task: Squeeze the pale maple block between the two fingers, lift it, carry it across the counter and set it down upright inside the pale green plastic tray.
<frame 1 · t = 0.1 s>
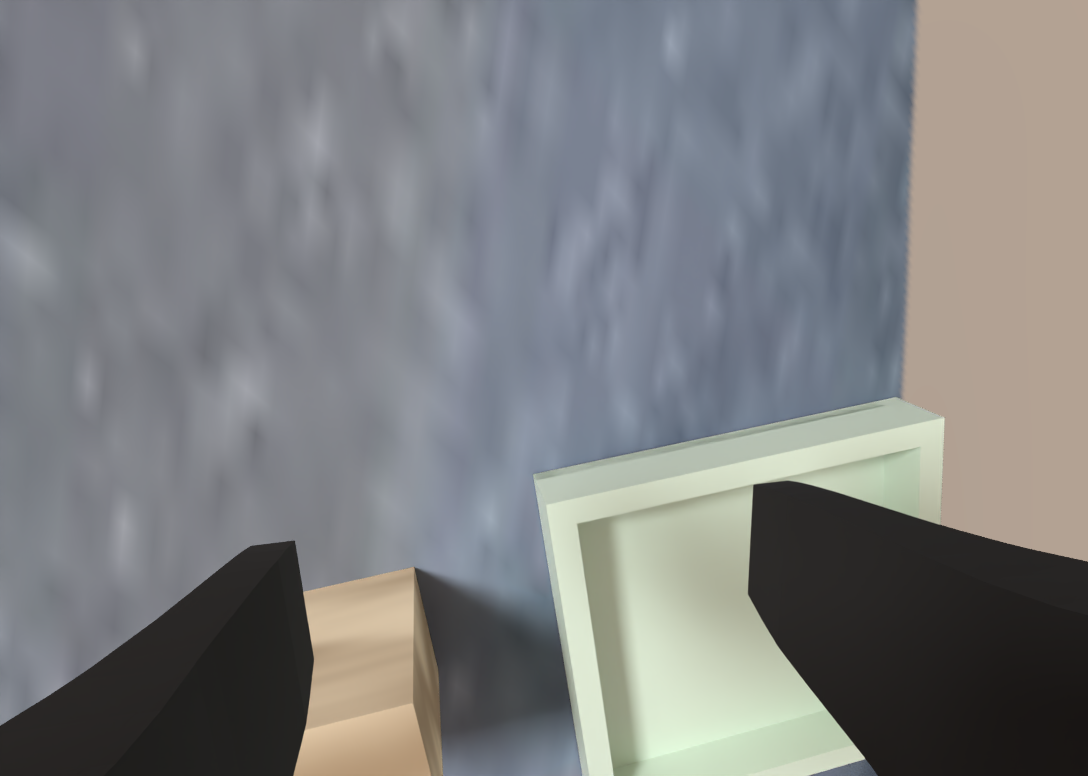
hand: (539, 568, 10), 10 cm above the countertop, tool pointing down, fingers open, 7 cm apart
tray: (732, 598, 24), on the countertop
block: (348, 637, 21), on the countertop
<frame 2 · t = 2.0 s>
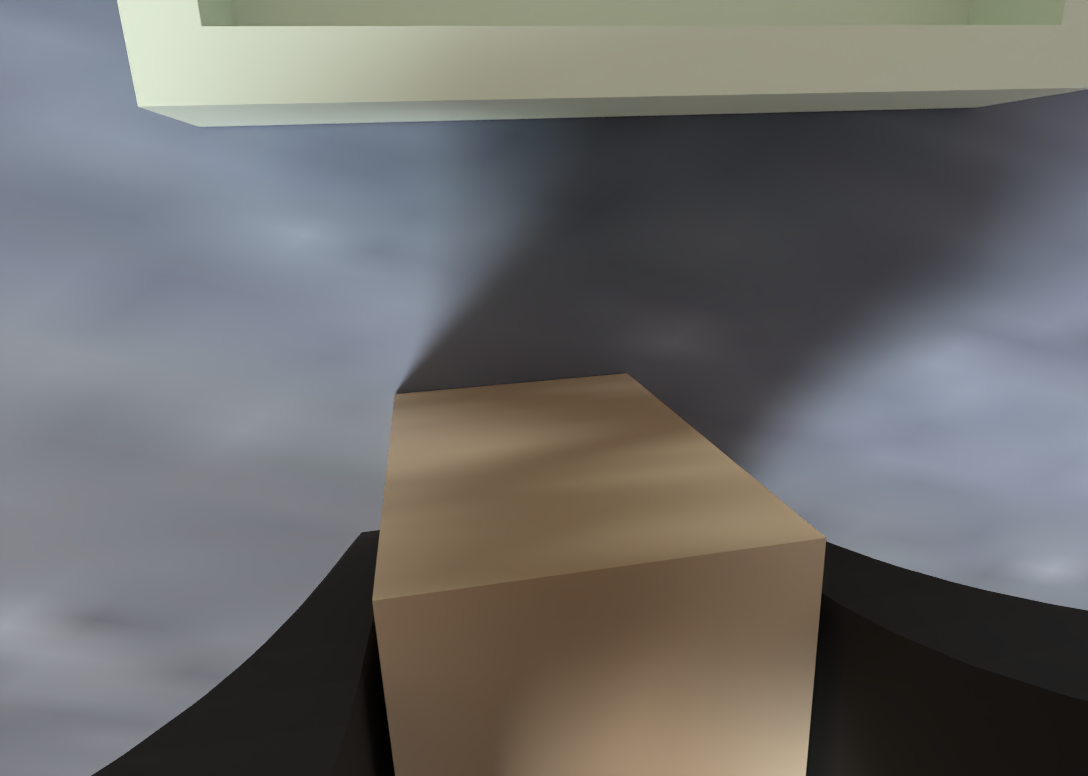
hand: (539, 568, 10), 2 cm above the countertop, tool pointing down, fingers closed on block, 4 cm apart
block: (521, 515, 12), on the countertop, touching gripper
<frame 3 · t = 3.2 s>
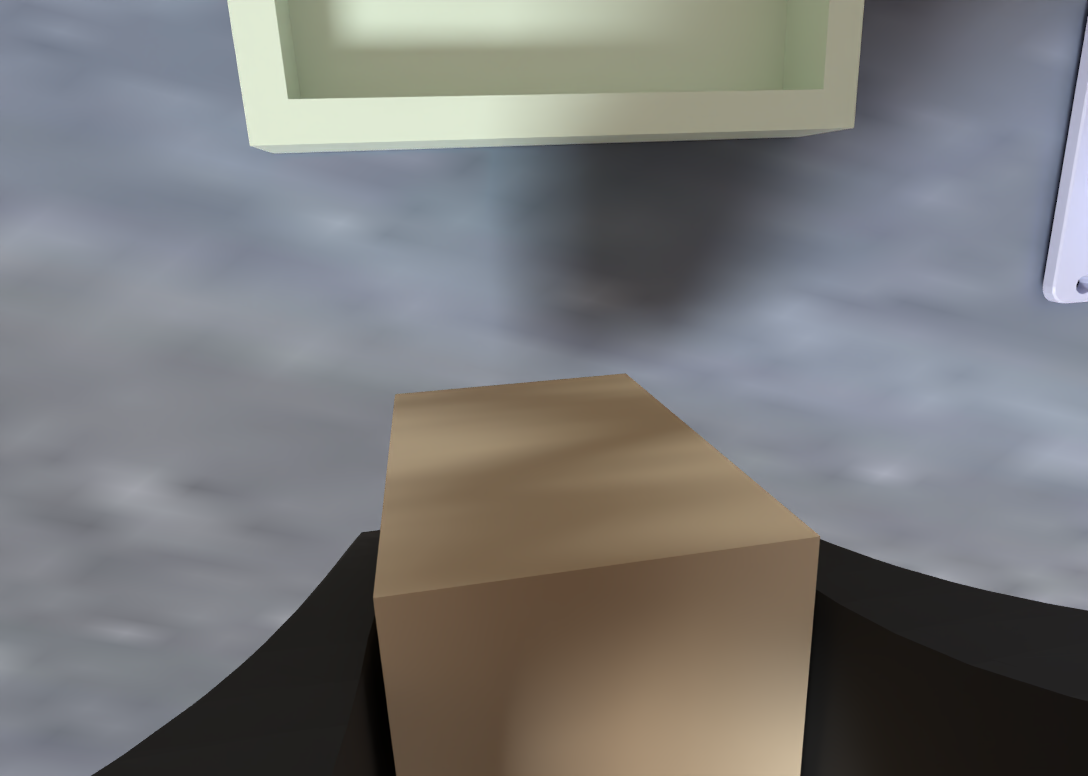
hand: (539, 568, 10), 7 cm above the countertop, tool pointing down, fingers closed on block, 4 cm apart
block: (521, 515, 12), point 5 cm above the countertop, touching gripper
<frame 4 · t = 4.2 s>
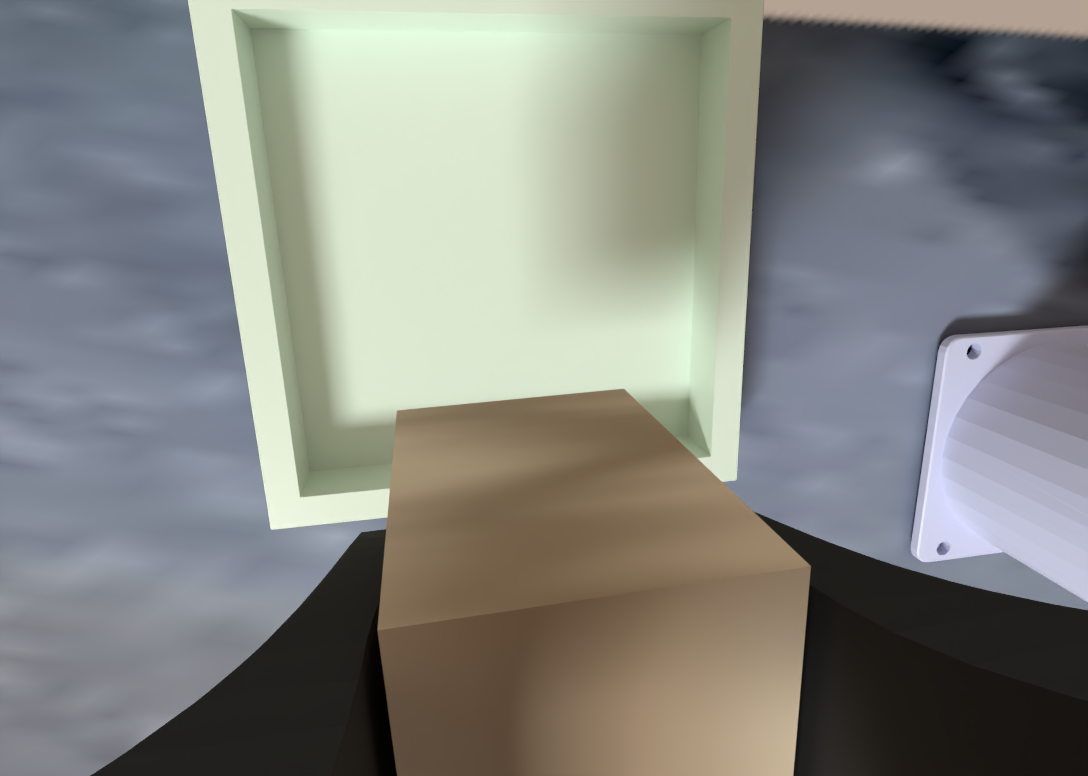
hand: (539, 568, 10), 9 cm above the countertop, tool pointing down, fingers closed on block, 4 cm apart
tray: (497, 258, 18), on the countertop
block: (521, 527, 12), point 7 cm above the countertop, touching gripper
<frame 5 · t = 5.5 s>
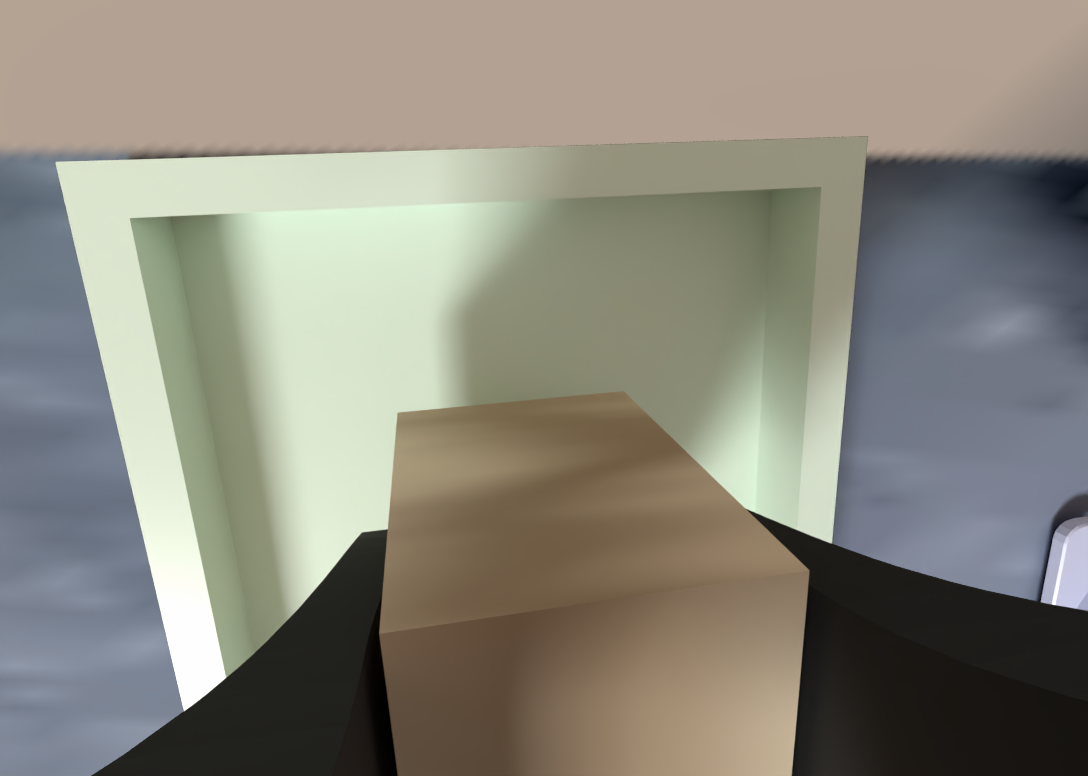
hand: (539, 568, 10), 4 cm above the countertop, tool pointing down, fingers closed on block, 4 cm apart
tray: (506, 468, 14), on the countertop
block: (520, 529, 12), point 2 cm above the countertop, touching gripper
when the fingers open (4 cm above the countertop, at t = 6.3 s): block drops 1 cm, resting on tray.
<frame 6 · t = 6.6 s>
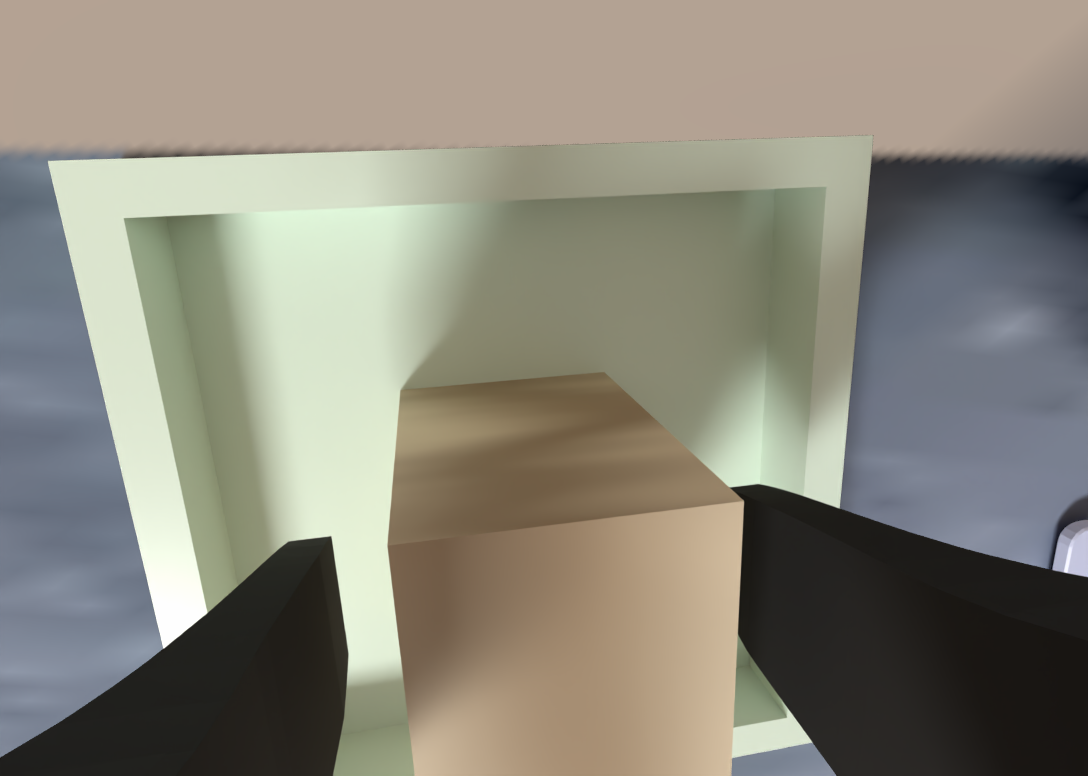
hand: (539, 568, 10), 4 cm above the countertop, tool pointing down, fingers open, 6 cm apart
tray: (507, 471, 14), on the countertop
block: (511, 497, 14), resting on tray
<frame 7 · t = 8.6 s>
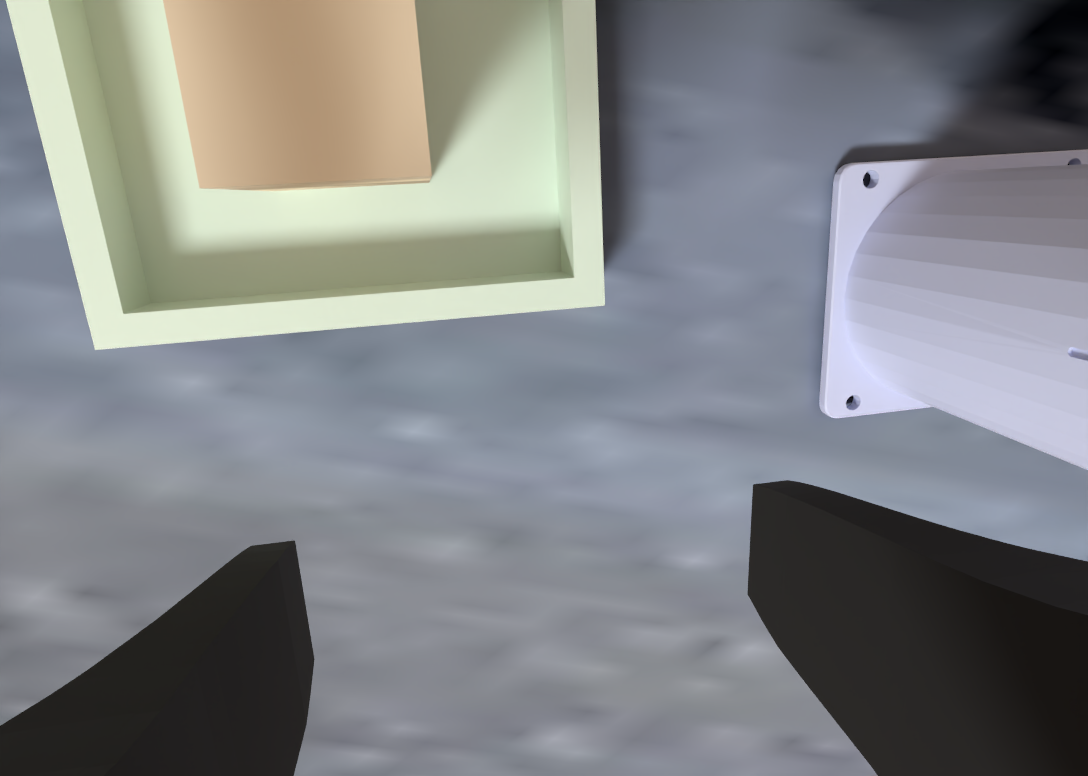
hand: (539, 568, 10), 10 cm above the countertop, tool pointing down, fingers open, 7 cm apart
tray: (338, 70, 17), on the countertop
block: (338, 83, 17), resting on tray
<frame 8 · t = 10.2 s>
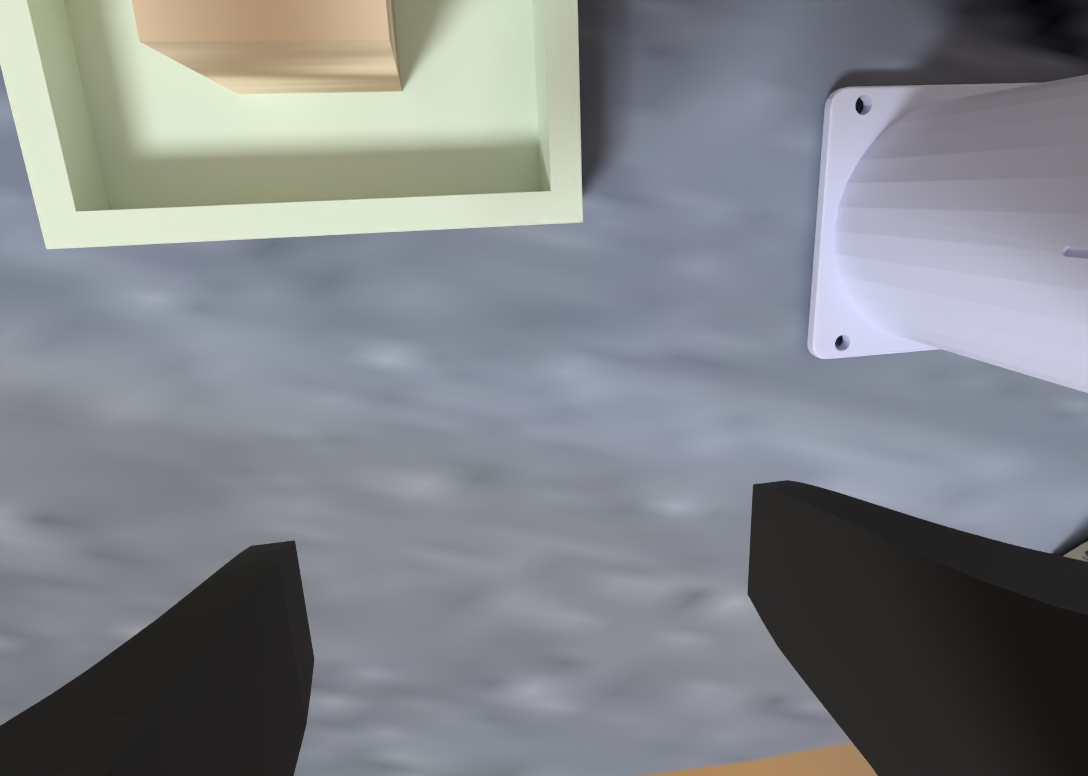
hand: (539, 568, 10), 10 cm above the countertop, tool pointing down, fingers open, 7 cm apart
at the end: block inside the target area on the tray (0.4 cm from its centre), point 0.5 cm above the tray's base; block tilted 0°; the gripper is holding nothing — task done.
